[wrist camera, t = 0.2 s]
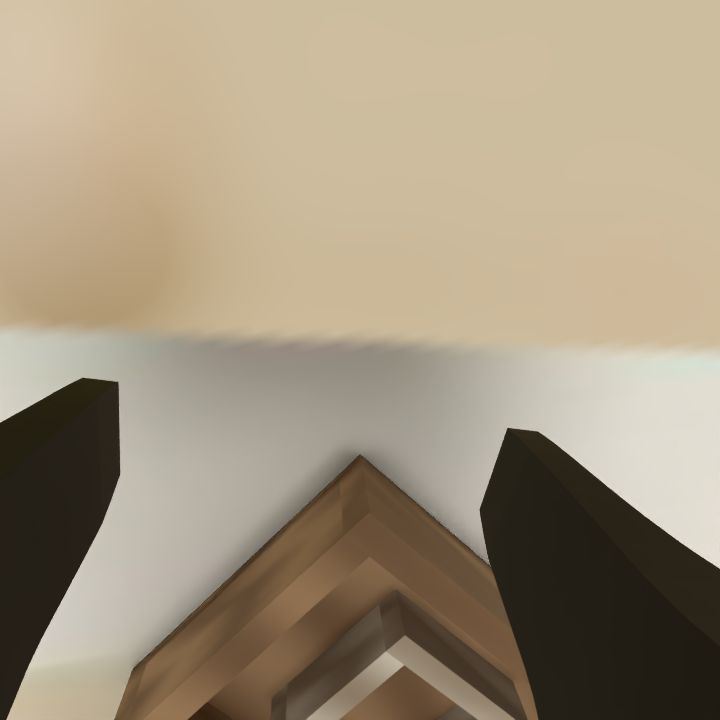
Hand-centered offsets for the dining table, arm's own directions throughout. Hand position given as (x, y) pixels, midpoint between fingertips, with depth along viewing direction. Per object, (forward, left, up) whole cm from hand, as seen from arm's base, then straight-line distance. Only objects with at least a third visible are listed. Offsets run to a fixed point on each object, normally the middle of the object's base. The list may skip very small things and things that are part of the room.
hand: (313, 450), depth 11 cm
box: (-10, -14, -10) cm, 20 cm away
